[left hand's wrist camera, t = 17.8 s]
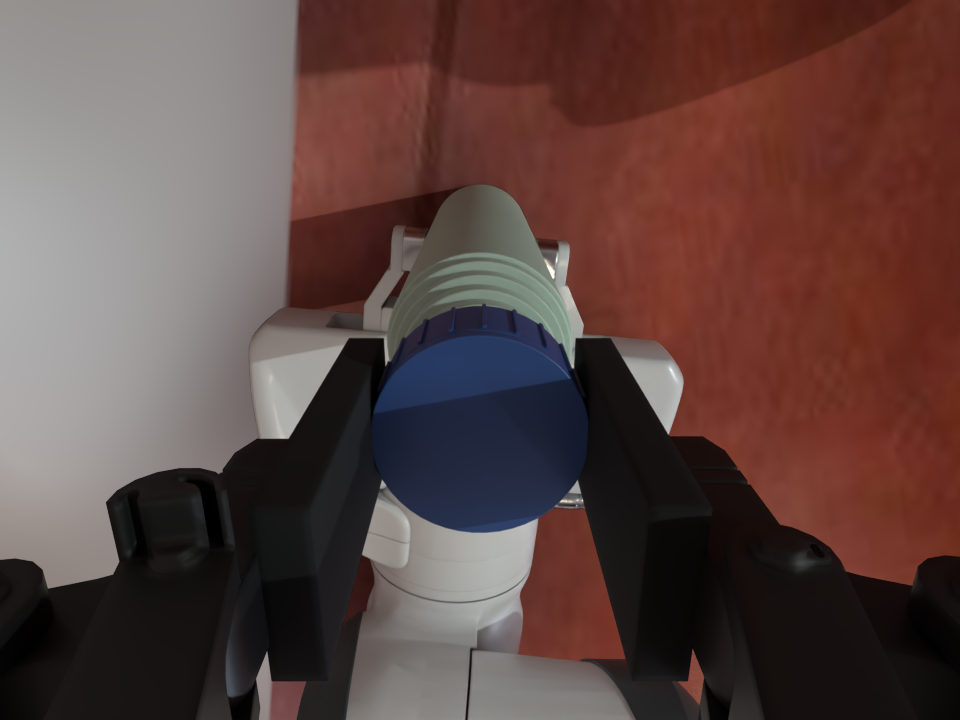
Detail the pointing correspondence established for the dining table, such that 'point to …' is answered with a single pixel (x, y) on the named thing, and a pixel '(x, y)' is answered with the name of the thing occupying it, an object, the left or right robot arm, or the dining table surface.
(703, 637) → the left robot arm
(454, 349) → the cap
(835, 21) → the dining table surface
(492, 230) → the bottle
